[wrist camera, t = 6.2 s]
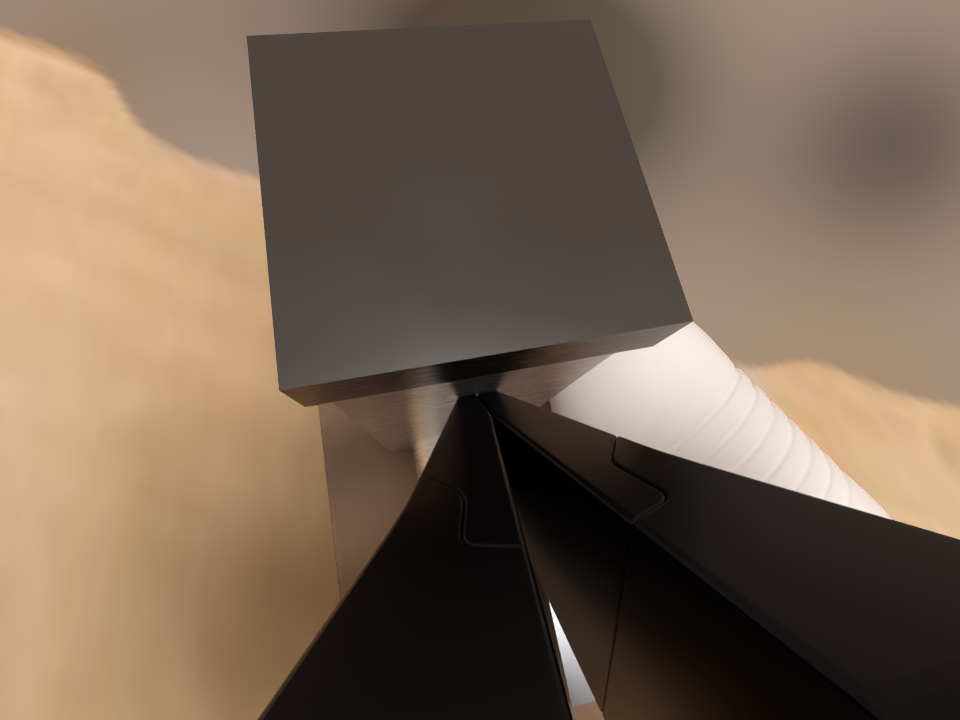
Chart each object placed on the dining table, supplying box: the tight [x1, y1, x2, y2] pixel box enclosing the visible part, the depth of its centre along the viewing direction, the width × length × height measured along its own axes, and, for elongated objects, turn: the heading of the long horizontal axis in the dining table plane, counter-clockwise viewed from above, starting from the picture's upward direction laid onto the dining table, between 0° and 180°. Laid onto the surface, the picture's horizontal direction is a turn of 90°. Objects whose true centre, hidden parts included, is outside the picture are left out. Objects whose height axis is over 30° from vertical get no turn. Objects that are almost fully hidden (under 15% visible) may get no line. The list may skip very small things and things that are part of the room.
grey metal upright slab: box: [247, 20, 693, 479], centre depth 12 cm, size 13×5×13 cm, turn 11°
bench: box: [319, 400, 604, 720], centre depth 16 cm, size 22×10×6 cm, turn 11°
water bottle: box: [550, 322, 892, 520], centre depth 17 cm, size 9×6×25 cm
